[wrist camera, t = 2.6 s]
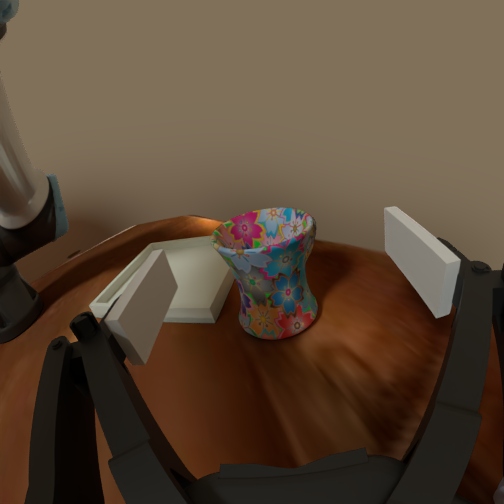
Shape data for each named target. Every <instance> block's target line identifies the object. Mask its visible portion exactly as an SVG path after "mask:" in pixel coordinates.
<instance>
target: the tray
mask: <svg viewBox="0 0 504 504" xmlns="http://www.w3.org/2000/svg"><path fill="white" fill-rule="evenodd" d="M210 239H211V236H203V237H195V238H187V239H179V240H171V241H164V242H156V243H150V244H149V245H148V246H147V247H146V248H145V249H144V250H143V251H142V252H141V253H140V254H139V255H138V256H137V257H136V258H135V259H134V260H133V261H132V262H131V263H130V264H129V265H128V266H127V267H126V268H125V269H124V270H123V271H122V272H121V273H120V274H119V275H118V276H117V277H116V278H115V279H114V280H113V281H112V282H111V283H110V284H109V285H108V286H107V287H106V288H105V289H104V290H103V291H102V292H101V293H100V295H99V296H98V297H97V298H96V299H95V300H94V301H93V302H92V303H91V304H90V305H89V306H90V308H91V310H92V312H93V313H94V315H95V317H98V318H103V317H104V315H105V314H106V313H107V311H108V309H109V308H110V306H111V305H112V303H113V302H114V300H115V299H117V298H118V297H119V296H120V295H121V294H122V293H123V292H124V290H125V289H126V287H127V286H128V284H129V283H130V282H131V280H132V279H133V277H134V276H135V274H136V273H137V272H138V270H139V269H140V267H141V266H142V265H143V263H144V262H145V261H146V259H147V258H148V256H149V255H150V254H151V252H152V251H155V250H160V249H164V251H165V254H166V257H167V260H168V262H169V265H170V267H171V270H172V273H173V275H174V278H175V280H176V283H177V285H178V289H177V291H176V293H175V295H174V298H173V300H172V302H171V305H170V307H169V309H168V311H167V314H166V316H165V318H164V321H163V322H181V323H215V322H216V320H217V318H218V316H219V313H220V311H221V309H222V307H223V304H224V302H225V300H226V298H227V295H228V293H229V291H230V289H231V286H232V284H233V282H234V280H235V277H234V275H233V273H232V271H231V270H230V268H229V266H228V265H227V263H226V262H225V260H224V259H223V258H222V257H221V255H220V254H219V253H218V252H217V251H216V250H215V249H214V248H213V246H212V244H211V241H210Z"/></svg>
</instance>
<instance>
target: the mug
mask: <svg viewBox="0 0 504 504" xmlns="http://www.w3.org/2000/svg"><path fill="white" fill-rule="evenodd" d="M315 235H316V222H315V220H314V219H313V217H312V216H310V215H309V214H308V213H306V212H304V211H302V210H299V209H294V208H269V209H262V210H257V211H253V212H249V213H245V214H242V215H240V216H237V217H235V218H232V219H230V220H228V221H226V222H225V223H223V224H221V225H220V226H219V227H218V228H216V230H215V231H214V232H213V233H212V235H211V239H210V241H211V244H212V246H213V248H214V249H215V250H216V251H217V252H218V253H219V254H220V255H221V257H222V258H223V259H224V260H225V262H226V263H227V265H228V266H229V268H230V270H231V271H232V273H233V275H234V277H235V279H236V282H237V284H238V287H239V291H240V296H241V308H240V311H239V322H240V324H241V326H242V328H243V329H244V330H245V331H246V332H247V333H249V334H251V335H253V336H255V337H258V338H262V339H269V340H275V339H283V338H287V337H291V336H293V335H296V334H298V333H300V332H302V331H303V330H305V329H306V328H307V327H308V326H309V325H310V324H311V323H312V322H313V321H314V319H315V317H316V315H317V312H318V303H317V300H316V298H315V297H314V295H313V294H312V293H311V291H310V289H309V287H308V284H307V279H306V273H305V263H306V261H307V259H308V257H309V255H310V253H311V250H312V247H313V244H314V240H315Z"/></svg>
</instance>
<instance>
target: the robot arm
mask: <svg viewBox="0 0 504 504" xmlns="http://www.w3.org/2000/svg"><path fill="white" fill-rule="evenodd" d="M18 6H19V0H0V44H1V43H2V41H3V39H4V38H5V36H6V33H7V29H6V23H7V22H8V21H9V20H10V19H11V18H13V17H14V16H15V15H16V13H17V11H18ZM384 217H385V251H386V252H387V254H388V255H389V256H390V257H391V259H392V260H393V261H394V262H395V263H396V265H397V266H398V267H399V269H400V270H401V271H402V272H403V274H404V275H405V276H406V278H407V279H408V280H409V281H410V283H411V284H412V285H413V287H414V288H415V289H416V291H417V292H418V294H419V295H420V296H421V298H422V299H423V300H424V302H425V303H426V305H427V306H428V307H429V309H430V310H431V312H432V313H433V315H434V316H435V317H436V318H439V317H442V316H445V315H448V314H450V310H451V306H452V303H453V304H454V306H455V307H456V308H457V309H456V312H455V316H454V320H453V323H452V326H451V328H452V330H451V334H450V338H449V342H448V346H447V350H446V353H445V357H444V360H443V364H442V367H441V370H440V373H439V376H438V379H437V382H436V385H435V388H434V391H433V393H432V396H431V399H430V401H429V404H428V406H427V409H426V411H425V414H424V416H423V418H422V421H421V423H420V425H419V428H418V430H417V432H416V434H415V436H414V438H413V440H412V442H411V444H410V446H409V448H408V449H407V451H406V453H405V455H404V456H403V458H402V460H401V461H399V460H397V459H394V458H391V457H387V456H382V455H367V452H366V448H361V449H357V450H353V451H348V452H343V453H338V454H333V455H329V456H327V457H324V458H322V459H319V460H317V461H314V462H311V463H308V464H306V465H303V466H300V467H297V468H293V469H288V468H280V467H273V466H266V465H260V464H220V472H216V473H213V474H209V475H207V476H204V477H202V478H200V479H198V480H197V479H196V478H195V477H194V476H193V475H192V474H191V473H190V472H189V471H188V469H187V468H186V467H185V465H184V464H183V462H182V461H181V460H180V458H179V457H178V455H177V454H176V452H175V451H174V449H173V448H172V446H171V445H170V443H169V442H168V440H167V439H166V437H165V435H164V434H163V432H162V431H161V429H160V427H159V426H158V424H157V422H156V421H155V419H154V417H153V416H152V414H151V412H150V410H149V409H148V407H147V405H146V403H145V401H144V400H143V398H142V396H141V394H140V392H139V390H138V388H137V386H136V384H135V382H134V380H133V378H132V376H131V374H130V372H129V370H128V368H127V367H126V365H125V364H124V360H125V358H126V357H127V358H128V360H129V361H130V363H131V364H132V365H146V362H147V360H148V357H149V355H150V352H151V350H152V347H153V345H154V342H155V340H156V337H157V335H158V333H159V330H160V328H161V325H162V323H163V321H164V318H165V316H166V314H167V311H168V309H169V307H170V305H171V302H172V300H173V298H174V295H175V293H176V291H177V289H178V285H177V283H176V280H175V278H174V275H173V273H172V270H171V267H170V265H169V262H168V260H167V257H166V254H165V251H164V249H160V250H155V251H152V252H151V254H150V255H149V256H148V258H147V259H146V261H145V262H144V263H143V265H142V266H141V267H140V269H139V270H138V272H137V273H136V274H135V276H134V277H133V279H132V280H131V282H130V283H129V284H128V286H127V287H126V289H125V290H124V292H123V293H122V294H121V295H120V296H119V297H118V298H117V299H115V300H114V302H113V303H112V305H111V306H110V308H109V309H108V311H107V313H106V314H105V315H104V317H103V318H102V320H101V321H100V323H99V324H98V322H97V320H96V318H95V317H94V315H93V313H92V312H89V311H88V312H83V313H81V314H79V315H78V316H76V317H75V318H74V319H73V320H72V321H71V323H70V326H69V327H70V328H71V330H72V332H73V333H74V335H75V336H76V338H77V339H78V341H77V342H73V343H70V342H69V341H68V339H67V338H66V337H65V336H61V337H58V338H55V339H54V340H52V341H51V343H50V344H49V346H48V348H47V352H46V356H45V359H44V363H43V368H42V372H41V376H40V381H39V386H38V391H37V396H36V402H35V408H34V415H33V422H32V431H31V441H30V454H29V486H28V490H27V494H26V499H25V503H24V504H105V502H104V496H103V490H102V484H101V478H100V470H99V463H98V454H97V443H96V429H95V409H96V412H97V415H98V418H99V421H100V424H101V427H102V430H103V432H104V435H105V438H106V440H107V443H108V446H109V448H110V451H111V453H112V456H113V458H112V459H110V460H109V461H108V464H109V468H110V470H111V473H112V475H113V477H114V479H115V482H116V484H117V486H118V488H119V490H120V492H121V494H122V496H123V498H124V500H125V502H126V504H476V503H474V502H472V501H470V500H468V499H466V498H464V497H462V496H460V495H458V494H456V491H457V489H458V487H459V484H460V482H461V480H462V477H463V475H464V472H465V470H466V467H467V465H468V462H469V459H470V457H471V454H472V451H473V448H474V445H475V442H476V439H477V435H478V432H479V428H480V425H481V419H482V416H481V414H478V411H479V406H480V402H481V397H482V392H483V388H484V382H485V377H486V371H487V364H488V357H489V349H490V339H491V327H492V324H493V329H494V333H495V338H496V344H497V350H498V356H499V363H500V370H501V379H502V390H503V407H504V264H503V268H502V270H494V271H492V270H491V268H490V267H489V265H487V264H485V263H483V262H480V261H469V260H468V259H467V258H466V257H465V256H464V255H463V254H462V253H461V252H459V251H457V249H456V248H455V247H453V246H452V245H451V244H450V243H449V242H448V241H446V240H443V239H441V238H435V237H434V236H433V235H432V234H430V233H429V232H428V231H427V230H426V229H424V228H423V227H422V226H421V225H419V224H418V223H416V221H414V220H413V219H412V218H410V217H409V216H408V215H407V214H405V213H404V212H402V211H401V210H400V209H399V208H397V207H396V206H394V207H388V208H384ZM68 228H69V226H68V220H67V216H66V212H65V209H64V206H63V201H62V197H61V193H60V189H59V185H58V181H57V178H56V176H55V175H53V174H51V175H45V173H44V172H43V171H42V170H40V169H38V168H36V167H32V165H31V162H30V160H29V158H28V156H27V153H26V150H25V148H24V145H23V143H22V140H21V138H20V135H19V132H18V130H17V127H16V124H15V121H14V118H13V115H12V112H11V109H10V106H9V102H8V99H7V95H6V92H5V88H4V84H3V80H2V76H1V72H0V343H4V342H7V341H9V340H11V339H13V338H15V337H16V336H18V335H19V334H20V333H22V332H23V331H24V330H25V329H26V328H28V327H29V326H30V325H31V324H32V323H33V321H34V320H35V319H36V318H37V316H38V315H39V314H40V312H41V310H42V308H43V301H42V299H41V297H40V295H39V294H38V292H37V291H36V290H35V289H34V288H33V287H32V286H31V285H30V284H29V283H28V282H27V281H26V280H25V279H24V278H23V277H22V276H21V275H20V273H19V271H18V270H17V268H16V265H15V262H16V261H18V260H20V259H21V258H23V257H25V256H26V255H28V254H30V253H32V252H34V251H36V250H37V249H39V248H41V247H43V246H45V245H46V244H48V243H50V242H54V241H56V240H57V239H58V238H59V237H61V236H63V235H64V234H66V233H67V231H68ZM493 500H494V502H495V504H504V441H503V478H502V480H501V481H500V483H499V486H498V489H497V490H496V491H495V493H494V496H493Z"/></svg>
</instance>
